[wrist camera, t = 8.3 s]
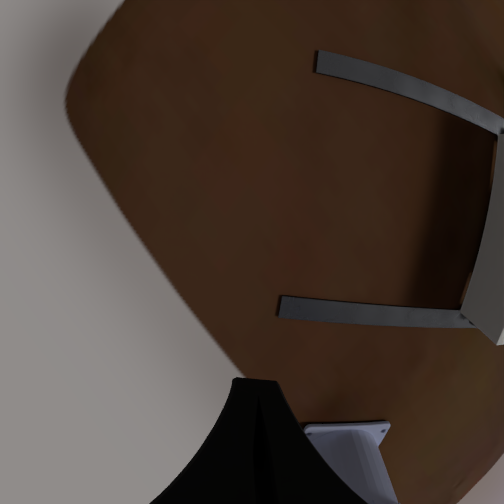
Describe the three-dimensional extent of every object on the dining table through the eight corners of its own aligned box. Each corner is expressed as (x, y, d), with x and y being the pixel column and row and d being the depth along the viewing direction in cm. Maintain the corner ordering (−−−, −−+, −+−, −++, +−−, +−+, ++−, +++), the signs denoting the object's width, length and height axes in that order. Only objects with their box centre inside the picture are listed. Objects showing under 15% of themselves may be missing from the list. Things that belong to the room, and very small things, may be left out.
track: (538, 325, 21) (539, 326, 21) (278, 316, 20) (278, 317, 20) (576, 168, 16) (577, 168, 16) (318, 50, 15) (318, 49, 15)
